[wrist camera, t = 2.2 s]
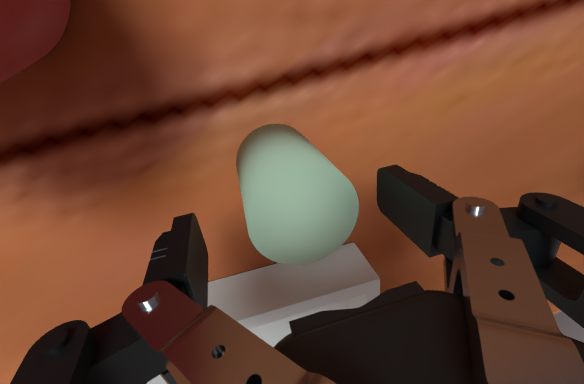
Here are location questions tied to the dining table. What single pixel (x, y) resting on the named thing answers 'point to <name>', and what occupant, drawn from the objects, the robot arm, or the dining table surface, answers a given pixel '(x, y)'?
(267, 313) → the serving dish
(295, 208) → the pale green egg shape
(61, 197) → the dining table surface
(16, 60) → the flower pot
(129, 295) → the robot arm
